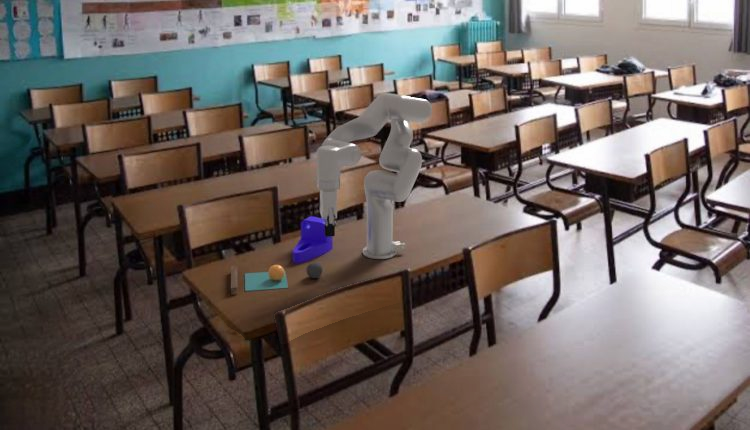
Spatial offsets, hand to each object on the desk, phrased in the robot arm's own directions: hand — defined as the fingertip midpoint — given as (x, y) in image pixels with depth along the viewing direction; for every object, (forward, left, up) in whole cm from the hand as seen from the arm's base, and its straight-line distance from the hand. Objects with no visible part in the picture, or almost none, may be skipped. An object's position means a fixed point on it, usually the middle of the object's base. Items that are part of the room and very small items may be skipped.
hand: (329, 235), depth 244 cm
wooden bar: (+33, 0, -15) cm, 36 cm away
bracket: (+6, -21, -15) cm, 27 cm away
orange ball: (+18, 0, -12) cm, 22 cm away
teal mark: (+22, 0, -15) cm, 27 cm away
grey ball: (+6, 0, -12) cm, 13 cm away
